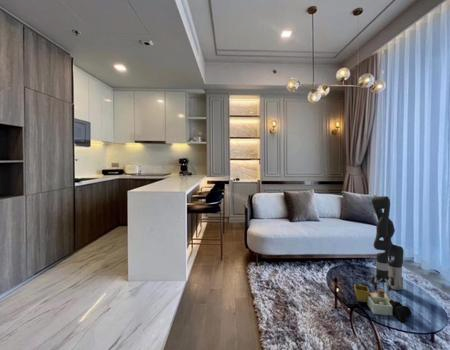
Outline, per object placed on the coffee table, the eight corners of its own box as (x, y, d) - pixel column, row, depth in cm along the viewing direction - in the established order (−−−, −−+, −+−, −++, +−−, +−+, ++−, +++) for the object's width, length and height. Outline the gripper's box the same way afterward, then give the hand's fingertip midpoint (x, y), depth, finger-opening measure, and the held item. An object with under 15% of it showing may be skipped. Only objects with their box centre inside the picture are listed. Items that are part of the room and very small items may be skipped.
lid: (386, 296, 183) (386, 287, 183) (393, 305, 172) (393, 295, 172) (369, 295, 186) (369, 285, 186) (375, 303, 174) (375, 293, 174)
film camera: (417, 324, 151) (417, 309, 151) (400, 323, 152) (400, 309, 152) (401, 310, 166) (401, 296, 166) (386, 309, 167) (386, 296, 167)
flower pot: (355, 302, 176) (355, 289, 176) (353, 296, 184) (354, 284, 184) (369, 304, 173) (369, 291, 173) (367, 298, 181) (367, 286, 181)
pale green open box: (385, 306, 171) (385, 297, 171) (392, 315, 160) (392, 306, 160) (367, 304, 173) (367, 296, 173) (373, 313, 162) (373, 304, 162)
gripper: (390, 266, 180) (390, 288, 181) (369, 265, 183) (369, 287, 183) (395, 270, 173) (395, 293, 173) (373, 269, 176) (373, 292, 176)
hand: (382, 290), depth 178 cm, fingers open, 8 cm apart
